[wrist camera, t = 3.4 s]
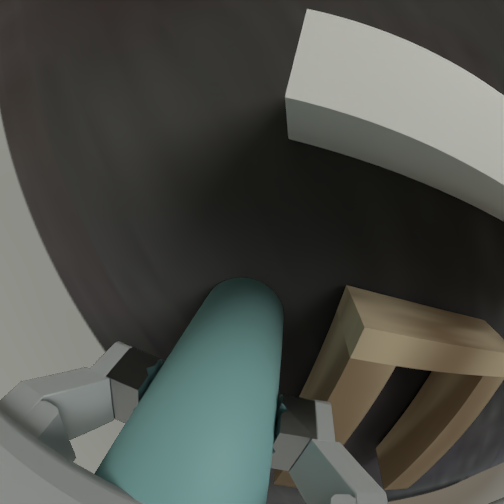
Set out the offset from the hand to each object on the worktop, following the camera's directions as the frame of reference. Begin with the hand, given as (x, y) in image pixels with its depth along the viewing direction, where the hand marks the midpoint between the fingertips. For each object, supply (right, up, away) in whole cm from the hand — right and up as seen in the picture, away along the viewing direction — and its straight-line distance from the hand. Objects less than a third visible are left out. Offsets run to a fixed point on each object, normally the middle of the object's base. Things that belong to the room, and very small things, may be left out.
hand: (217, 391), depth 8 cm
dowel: (+1, +1, +5) cm, 5 cm away
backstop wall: (+10, +7, +2) cm, 13 cm away
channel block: (+8, -4, +5) cm, 10 cm away
